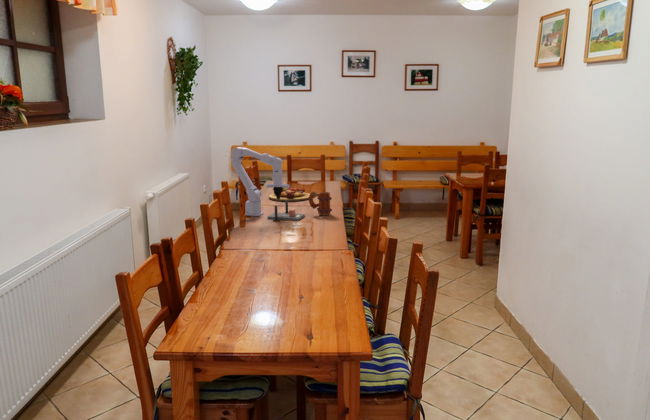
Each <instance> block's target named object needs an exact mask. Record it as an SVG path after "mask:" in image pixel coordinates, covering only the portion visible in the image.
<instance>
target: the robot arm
mask: <svg viewBox="0 0 650 420" xmlns="http://www.w3.org/2000/svg"><path fill="white" fill-rule="evenodd" d="M246 156H249V157H252V158H254V159H257V160H260V162H261V163H264V164H266V165H269V166H271V167H272V180H273V181H272V183H267V184H266V188H272V190H273V193H274V192H275V194H276V197H277V199H280V196H281V193H282V190H283V188H287V189H290V188H291V187H290V184H285V183H284V181H283V164H284V161H283V159H282V158H280V157H276V156H275V155H274V156H273V155H270V153H268V152H265V153H259V152H258V151H255V150H253V149H250V148H249V147H248V148H247V147H243V146H238V147H233V148H232V150H231V152H230V157H231V158H230V159H231V166H232V168H233V169H234V171H235V173H236V175H237V176H238V178H239V180H240V181H241V182H242V184H243V186H244V188H245V190H246V194H247V198H248V200H246V201H245V204H244V206H245V207H244V209H245V210H244V211H245V214H244V215H245V216H252V217H259V216H261V215H263V214H264V212H262V201H261V198H262V191H261V190H260V189H258V187H257V186H256V185H255V184H253V181H252V180H251V178H250V176H249V175H248V173H247V171H246V170H245V168H244V166H243V165H242V160H243V159H244V157H246Z"/></svg>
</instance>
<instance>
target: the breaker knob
mask: <svg viewBox="0 0 650 420" xmlns="http://www.w3.org/2000/svg"><path fill="white" fill-rule="evenodd" d="M288 212H289V216H295V214H296V209H292V208H290V209H288Z"/></svg>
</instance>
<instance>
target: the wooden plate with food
mask: <svg viewBox="0 0 650 420" xmlns="http://www.w3.org/2000/svg"><path fill="white" fill-rule="evenodd" d="M305 191H306V189H305V188H303V187H299V188H297V187H292V186H291V187H290V188H283V190H282V193H281V196H280V199H277V197H276V194H275V192H274V191H273V193H272V194H269V196H268V199H269V200H271V201H276V202H285V200H288V202H302V201H309V195H310V193H307V192H305Z"/></svg>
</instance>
